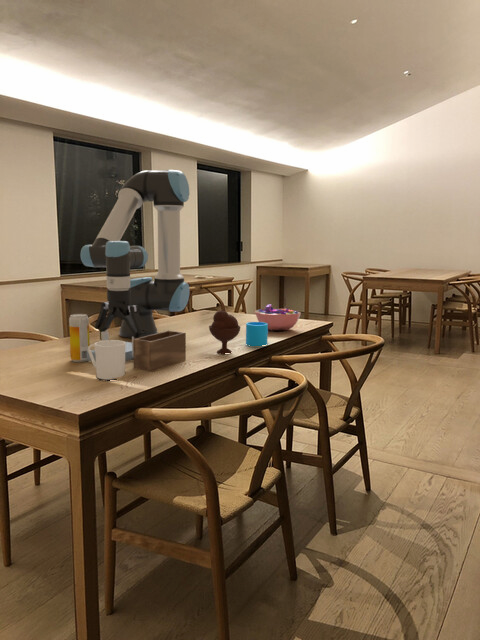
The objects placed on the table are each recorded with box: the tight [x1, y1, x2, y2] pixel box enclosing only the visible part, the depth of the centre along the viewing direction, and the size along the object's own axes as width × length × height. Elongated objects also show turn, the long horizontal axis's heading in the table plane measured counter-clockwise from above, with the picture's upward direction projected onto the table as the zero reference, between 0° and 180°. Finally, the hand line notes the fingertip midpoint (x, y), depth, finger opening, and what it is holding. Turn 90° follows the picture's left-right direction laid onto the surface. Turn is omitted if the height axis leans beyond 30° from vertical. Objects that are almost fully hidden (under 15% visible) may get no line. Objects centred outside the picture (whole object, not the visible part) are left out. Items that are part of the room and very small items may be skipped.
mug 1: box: [88, 339, 127, 382], centre depth 155 cm, size 11×9×10 cm
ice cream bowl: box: [208, 310, 241, 355], centre depth 188 cm, size 11×11×15 cm
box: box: [133, 330, 187, 372], centre depth 168 cm, size 7×17×10 cm, turn 149°
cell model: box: [254, 303, 302, 331], centre depth 232 cm, size 17×20×11 cm
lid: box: [87, 341, 134, 362], centre depth 177 cm, size 11×18×4 cm, turn 149°
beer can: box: [68, 313, 91, 363], centre depth 174 cm, size 6×6×15 cm
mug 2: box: [245, 321, 269, 347], centre depth 204 cm, size 12×8×8 cm
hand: (120, 353), depth 177 cm, fingers open, 13 cm apart
